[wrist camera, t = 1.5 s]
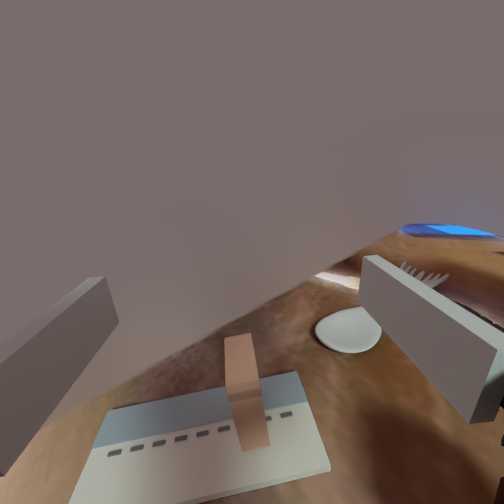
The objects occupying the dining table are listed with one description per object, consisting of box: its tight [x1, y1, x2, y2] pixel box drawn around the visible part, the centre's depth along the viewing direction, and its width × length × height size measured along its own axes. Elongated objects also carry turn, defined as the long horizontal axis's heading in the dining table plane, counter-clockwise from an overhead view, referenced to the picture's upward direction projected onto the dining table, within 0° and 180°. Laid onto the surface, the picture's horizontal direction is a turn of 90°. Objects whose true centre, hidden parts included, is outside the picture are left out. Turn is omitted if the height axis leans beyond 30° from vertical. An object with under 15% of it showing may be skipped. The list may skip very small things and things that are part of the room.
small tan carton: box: [224, 333, 270, 452], centre depth 25 cm, size 3×6×10 cm, turn 7°
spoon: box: [315, 262, 449, 353], centre depth 43 cm, size 9×32×4 cm, turn 123°
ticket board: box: [69, 371, 331, 504], centre depth 27 cm, size 26×11×1 cm, turn 97°
